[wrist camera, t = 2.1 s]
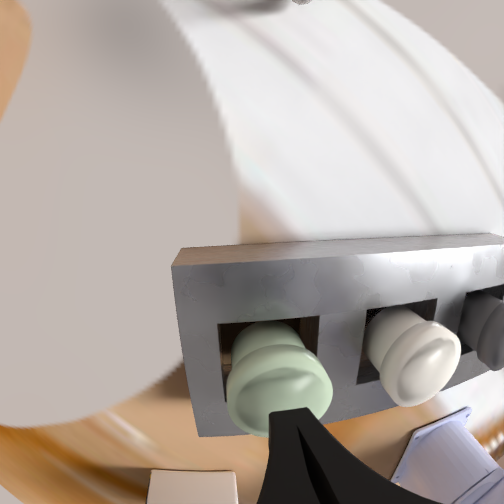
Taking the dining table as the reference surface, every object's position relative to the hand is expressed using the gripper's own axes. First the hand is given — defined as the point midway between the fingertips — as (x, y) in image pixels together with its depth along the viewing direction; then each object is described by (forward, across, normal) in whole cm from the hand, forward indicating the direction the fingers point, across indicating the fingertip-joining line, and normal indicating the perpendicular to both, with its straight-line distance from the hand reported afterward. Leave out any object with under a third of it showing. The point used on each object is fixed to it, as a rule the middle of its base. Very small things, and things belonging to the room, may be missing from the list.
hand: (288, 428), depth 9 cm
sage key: (+5, 0, 0) cm, 5 cm away
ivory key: (+5, -7, 0) cm, 9 cm away
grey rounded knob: (+5, -14, 0) cm, 15 cm away
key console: (+8, -7, 0) cm, 11 cm away
